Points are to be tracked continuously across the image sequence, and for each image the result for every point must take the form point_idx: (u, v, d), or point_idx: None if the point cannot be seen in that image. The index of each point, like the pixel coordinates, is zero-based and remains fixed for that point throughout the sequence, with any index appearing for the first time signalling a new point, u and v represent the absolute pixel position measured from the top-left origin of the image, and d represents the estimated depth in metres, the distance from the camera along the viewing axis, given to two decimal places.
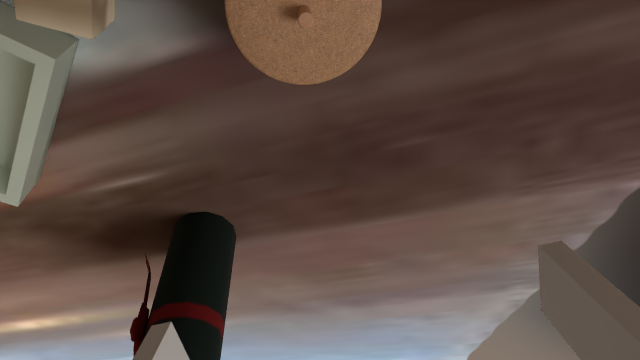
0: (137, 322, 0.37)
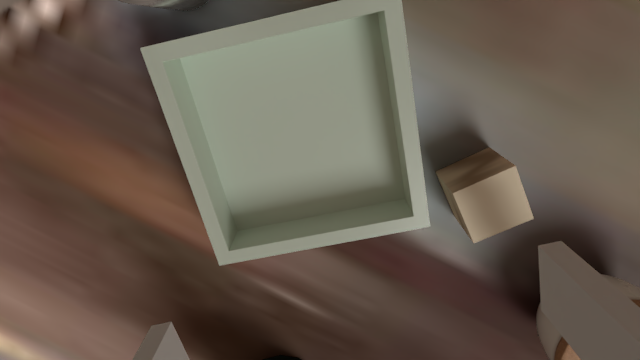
0: None
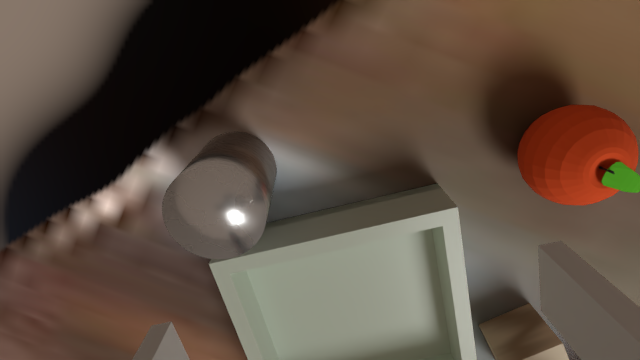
0: None
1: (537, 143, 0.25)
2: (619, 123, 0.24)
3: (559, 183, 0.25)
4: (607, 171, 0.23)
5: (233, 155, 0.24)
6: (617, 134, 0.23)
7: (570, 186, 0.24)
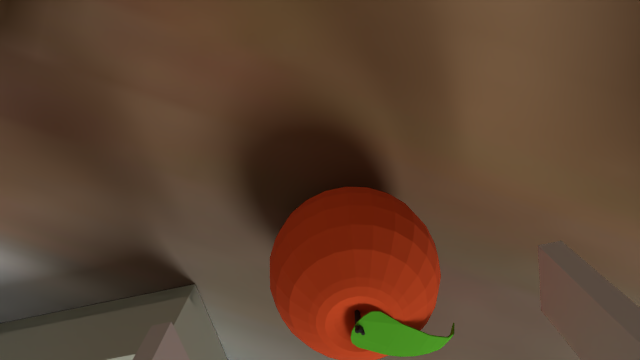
0: None
1: (273, 255, 0.15)
2: (388, 236, 0.13)
3: (296, 332, 0.14)
4: (355, 327, 0.13)
5: None
6: (373, 260, 0.13)
7: (309, 340, 0.14)
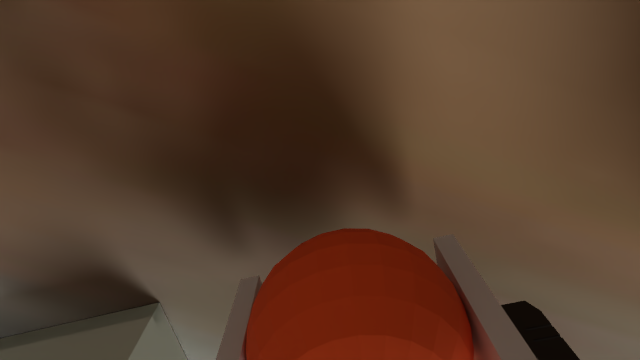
0: None
1: (250, 329, 0.11)
2: (407, 312, 0.09)
3: None
4: None
5: None
6: (388, 350, 0.09)
7: None
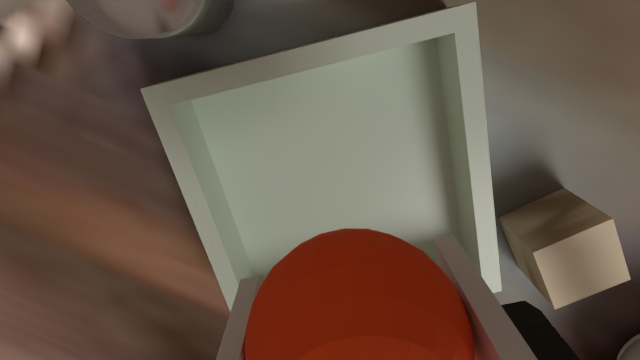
0: None
1: (249, 330, 0.11)
2: (407, 312, 0.09)
3: None
4: None
5: None
6: (388, 352, 0.09)
7: None
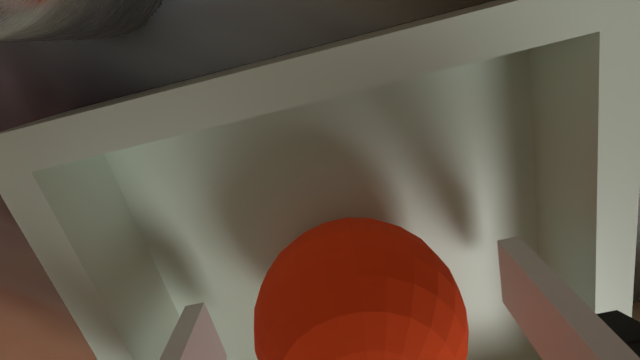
0: None
1: (258, 310, 0.12)
2: (406, 291, 0.10)
3: None
4: None
5: None
6: (389, 326, 0.10)
7: None
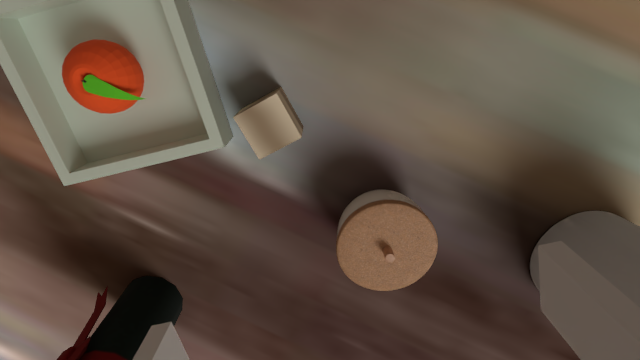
0: (80, 354, 0.37)
1: None
2: (99, 49, 0.34)
3: (69, 92, 0.35)
4: (82, 80, 0.34)
5: None
6: (89, 55, 0.34)
7: (73, 94, 0.35)
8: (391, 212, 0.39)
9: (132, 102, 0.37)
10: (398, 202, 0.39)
